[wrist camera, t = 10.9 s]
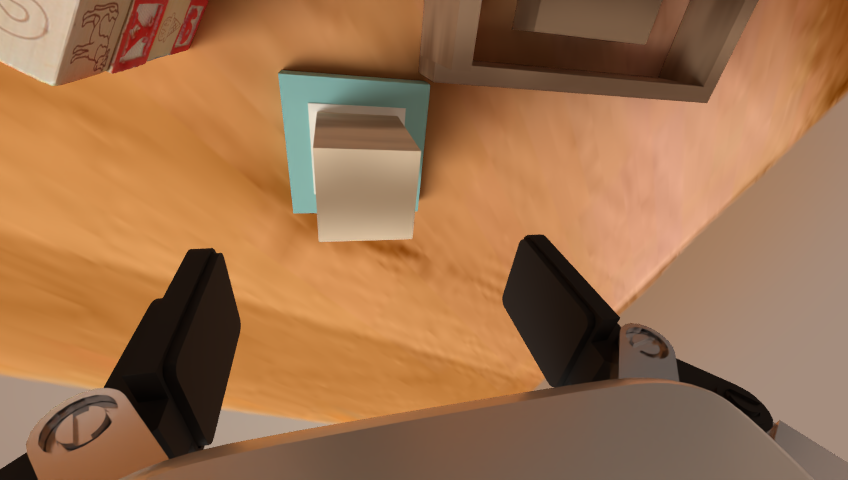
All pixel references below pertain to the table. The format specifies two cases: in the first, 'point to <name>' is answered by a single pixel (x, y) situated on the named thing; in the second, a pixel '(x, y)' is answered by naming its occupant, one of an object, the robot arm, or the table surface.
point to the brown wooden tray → (594, 19)
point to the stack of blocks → (92, 35)
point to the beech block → (364, 177)
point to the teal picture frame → (342, 95)
